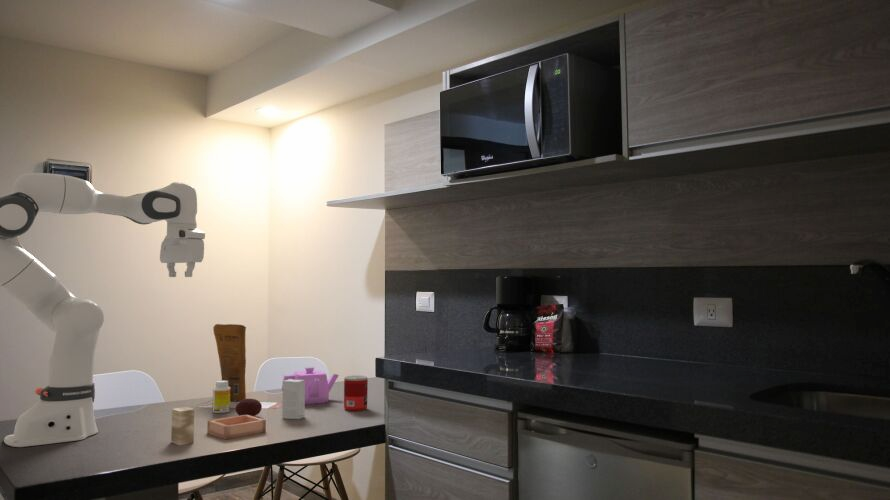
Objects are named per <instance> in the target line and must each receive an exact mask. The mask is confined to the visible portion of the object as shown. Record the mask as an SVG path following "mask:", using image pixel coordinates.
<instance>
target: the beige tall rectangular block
mask: <svg viewBox="0 0 890 500" xmlns="http://www.w3.org/2000/svg"><path fill="white" fill-rule="evenodd" d="M170 432H171V437H170V440H171V441H170V442H171V443H173V444H175V445H177V446H183V445H187V444H194V441H195V439H194V438H195V437H194V436H195V408H192V407H188V406H184V407H182V406H181V407H175V408H171V431H170Z"/></svg>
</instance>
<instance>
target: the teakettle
mask: <svg viewBox="0 0 890 500" xmlns="http://www.w3.org/2000/svg"><path fill="white" fill-rule="evenodd" d="M304 369H305V370H297V371H293V373H292V374H290V375H283V377H282V378H283V379H282V382H283V381H285V380H289V379H290V380H305V405H315V403H318V404H325V403H324V402H327V403H328V402H329V398H330V397H329V396H330V391H331V389H332V388H333V387H334V385H335V382H336V381H337V379H338V378H339V374H336V373H333V374H332V375H331V376H330V378H329V379H328V377H327V374H326V372H325V371H322V370H319V369H316V370H315V367H314V366H309V367H308V366H307V367H305V368H304ZM281 384H282V385H281V391H282V392H283V383H281Z"/></svg>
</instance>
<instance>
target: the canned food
mask: <svg viewBox="0 0 890 500" xmlns="http://www.w3.org/2000/svg"><path fill="white" fill-rule="evenodd" d="M368 384H369V383H368V376H367V375H366V376H365V375H348V376H344V380H343V408H344V410H345V411H348V412H362V411H365V410H367V408H368Z"/></svg>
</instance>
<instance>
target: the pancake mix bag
mask: <svg viewBox="0 0 890 500" xmlns="http://www.w3.org/2000/svg"><path fill="white" fill-rule="evenodd" d="M212 328H213V334H214V339H215V343H216V347H217V348H216V349H217V355H218V359H219V367H220V375H221V381H228V386H229V387H230V401H233V402H240V401H241V400H243V399H247V395H246V393H247V392H246V369H247V368H246V367H247V366H246V364H247V360H246V359H247V357H246V351H247V349H246V330H247V327H246V326H245V325H243V324H236V323H235V324H233V323H232V324H231V323H230V324H221V323H216V324H215V325H213V327H212Z"/></svg>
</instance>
